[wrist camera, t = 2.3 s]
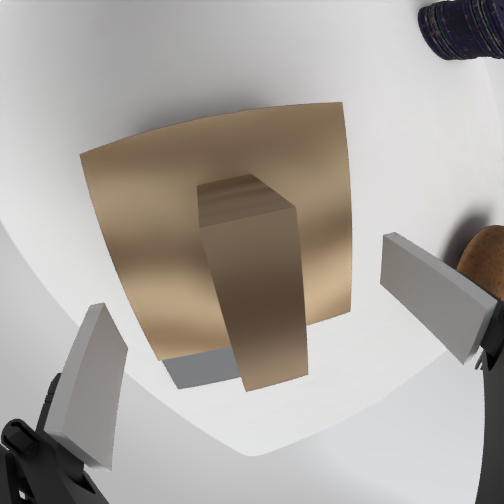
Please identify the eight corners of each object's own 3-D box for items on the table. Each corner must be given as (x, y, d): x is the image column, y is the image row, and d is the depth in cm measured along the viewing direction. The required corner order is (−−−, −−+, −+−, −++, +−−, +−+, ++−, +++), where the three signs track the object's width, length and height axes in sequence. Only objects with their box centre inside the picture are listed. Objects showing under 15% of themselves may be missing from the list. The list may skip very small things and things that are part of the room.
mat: (133, 297, 32) (132, 300, 32) (258, 268, 34) (259, 270, 33) (178, 386, 40) (178, 389, 40) (274, 365, 42) (275, 367, 41)
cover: (133, 143, 25) (6, 176, 6) (274, 113, 27) (427, 96, 8) (168, 270, 32) (155, 441, 13) (291, 241, 33) (398, 373, 14)
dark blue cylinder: (460, 36, 24) (527, 32, 11) (452, 72, 27) (528, 75, 14) (422, -5, 21) (491, -22, 8) (411, 30, 24) (491, 15, 11)
